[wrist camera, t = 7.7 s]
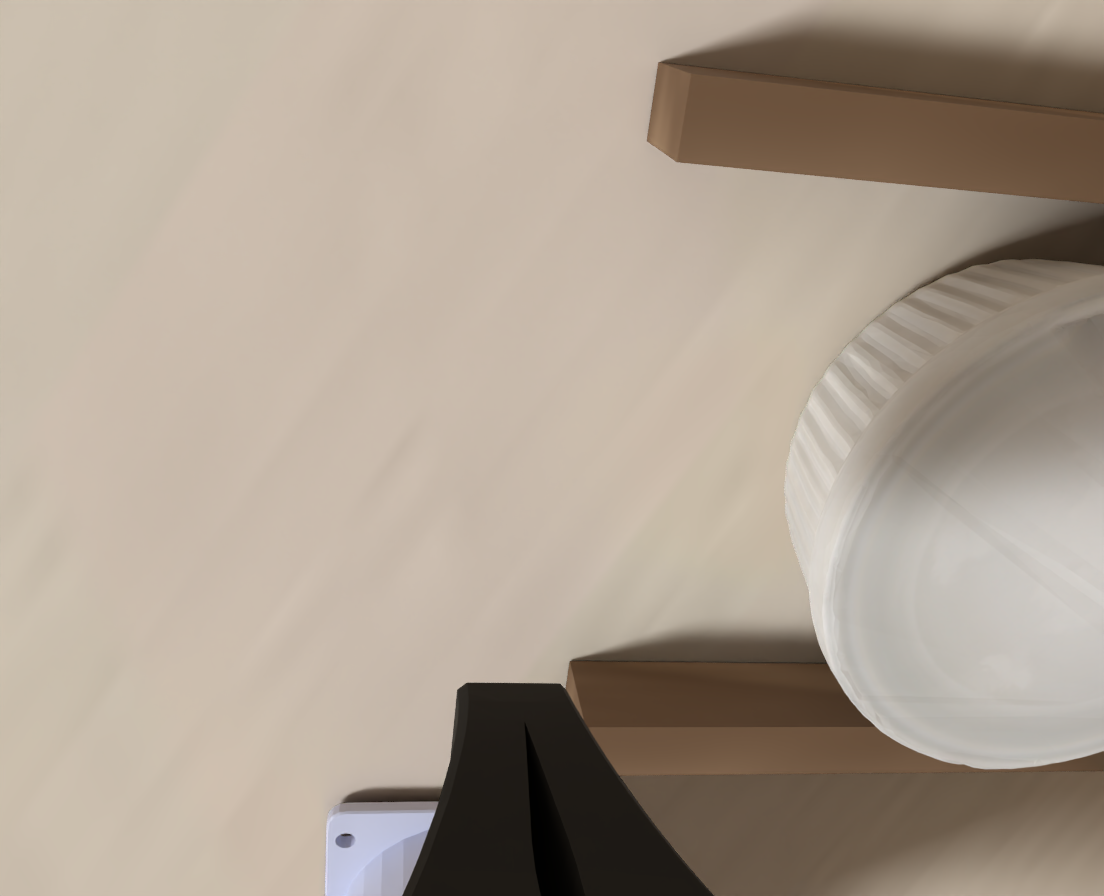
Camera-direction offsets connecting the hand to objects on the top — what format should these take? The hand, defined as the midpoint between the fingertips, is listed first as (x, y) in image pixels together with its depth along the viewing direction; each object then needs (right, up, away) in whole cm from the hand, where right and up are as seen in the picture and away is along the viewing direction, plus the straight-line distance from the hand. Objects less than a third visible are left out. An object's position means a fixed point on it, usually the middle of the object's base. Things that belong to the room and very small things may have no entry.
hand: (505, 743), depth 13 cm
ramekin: (+11, +4, +11) cm, 16 cm away
